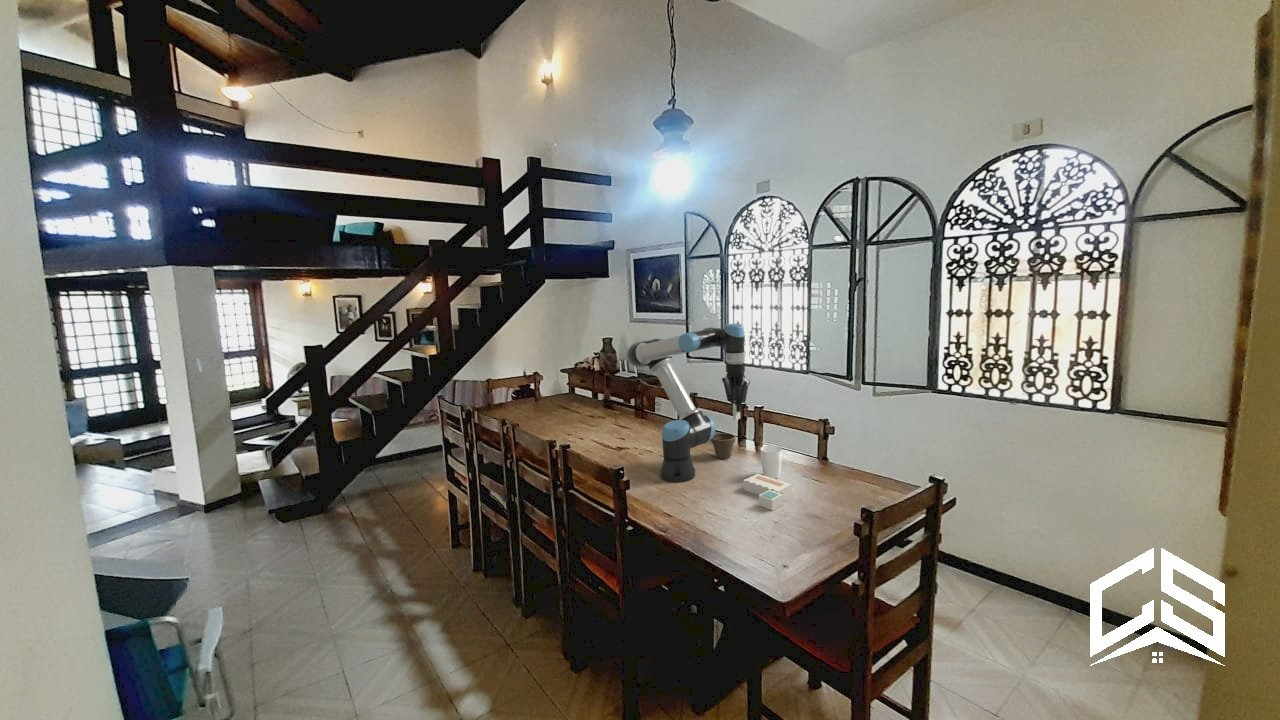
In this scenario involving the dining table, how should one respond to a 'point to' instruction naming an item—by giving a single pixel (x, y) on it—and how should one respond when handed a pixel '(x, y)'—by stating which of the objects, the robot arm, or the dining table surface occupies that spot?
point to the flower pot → (723, 444)
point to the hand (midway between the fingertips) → (736, 418)
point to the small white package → (766, 485)
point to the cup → (771, 461)
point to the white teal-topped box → (771, 499)
